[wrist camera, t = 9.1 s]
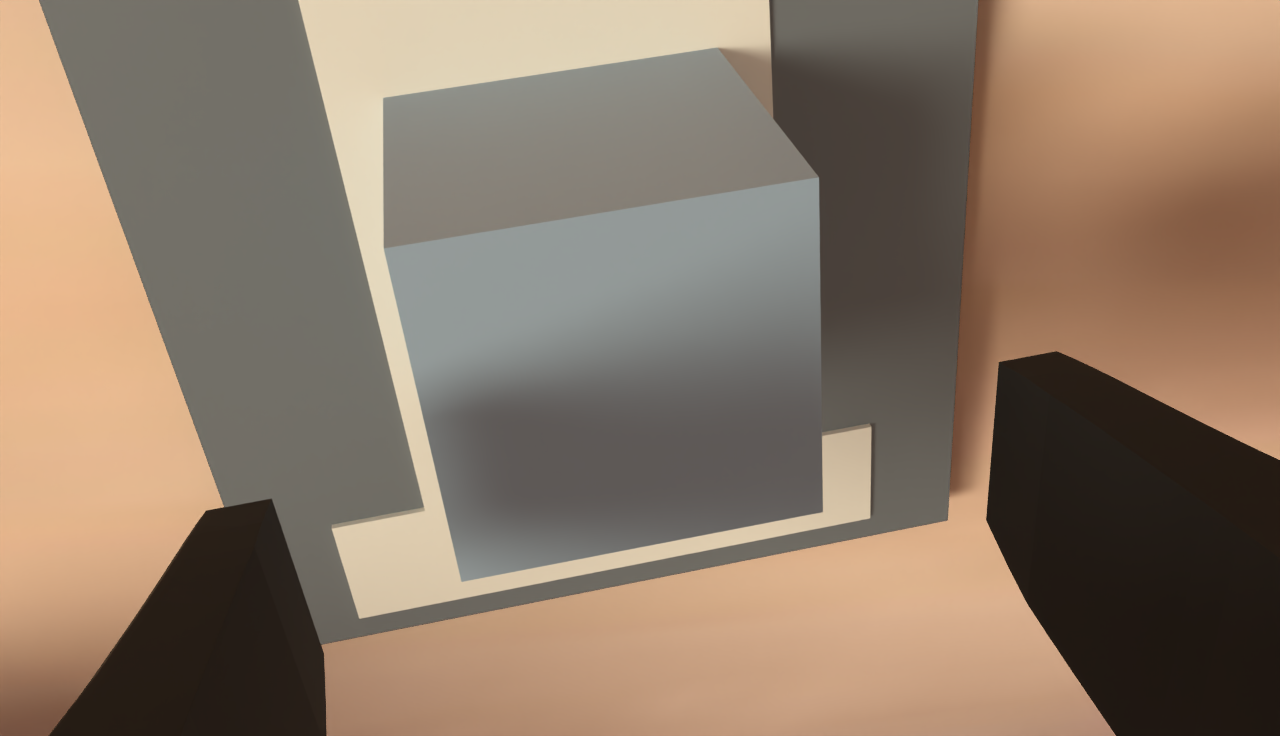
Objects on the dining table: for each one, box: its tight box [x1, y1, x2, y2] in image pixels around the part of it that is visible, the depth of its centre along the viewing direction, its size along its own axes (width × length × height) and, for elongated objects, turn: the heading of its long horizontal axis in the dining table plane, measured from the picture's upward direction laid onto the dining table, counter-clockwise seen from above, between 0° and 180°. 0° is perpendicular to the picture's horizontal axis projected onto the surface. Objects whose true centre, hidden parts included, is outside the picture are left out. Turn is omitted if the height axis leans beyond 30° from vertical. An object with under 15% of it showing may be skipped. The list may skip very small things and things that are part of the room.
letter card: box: [39, 0, 978, 645], centre depth 18 cm, size 12×14×1 cm
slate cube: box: [383, 48, 823, 582], centre depth 15 cm, size 4×4×4 cm
